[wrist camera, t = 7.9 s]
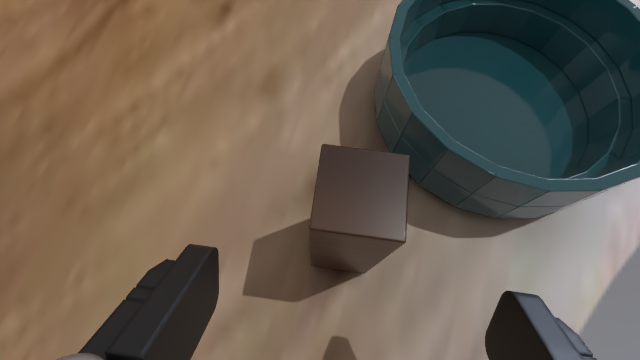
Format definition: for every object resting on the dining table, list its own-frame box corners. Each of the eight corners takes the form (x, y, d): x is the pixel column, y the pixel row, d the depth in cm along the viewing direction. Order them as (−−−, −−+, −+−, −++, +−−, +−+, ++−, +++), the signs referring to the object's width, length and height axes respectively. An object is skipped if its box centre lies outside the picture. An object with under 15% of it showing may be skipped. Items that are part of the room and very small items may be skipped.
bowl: (432, 256, 19) (476, 236, 14) (340, 56, 24) (348, -13, 19) (647, 178, 21) (754, 135, 16) (521, 7, 26) (572, -67, 21)
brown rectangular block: (364, 273, 19) (406, 242, 10) (310, 266, 19) (308, 229, 10) (369, 221, 20) (410, 154, 11) (318, 213, 20) (321, 142, 12)
